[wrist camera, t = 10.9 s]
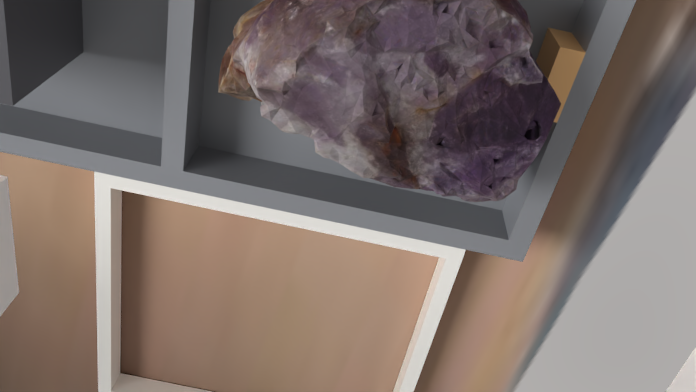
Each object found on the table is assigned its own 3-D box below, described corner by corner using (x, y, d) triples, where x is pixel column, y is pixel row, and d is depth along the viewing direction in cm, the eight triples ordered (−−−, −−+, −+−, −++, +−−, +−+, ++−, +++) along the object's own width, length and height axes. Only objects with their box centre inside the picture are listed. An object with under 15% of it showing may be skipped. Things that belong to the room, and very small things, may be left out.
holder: (-141, 83, 31) (-287, 158, 25) (-241, -364, 22) (-513, -433, 16) (513, 222, 32) (539, 329, 26) (665, -152, 24) (764, -134, 17)
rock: (452, 153, 31) (560, -49, 26) (495, 273, 24) (653, 33, 19) (214, 84, 28) (279, -159, 23) (186, 198, 21) (269, -111, 16)
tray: (107, 379, 41) (98, 397, 40) (106, 156, 32) (94, 170, 31) (390, 435, 42) (389, 455, 41) (464, 232, 33) (466, 249, 32)
